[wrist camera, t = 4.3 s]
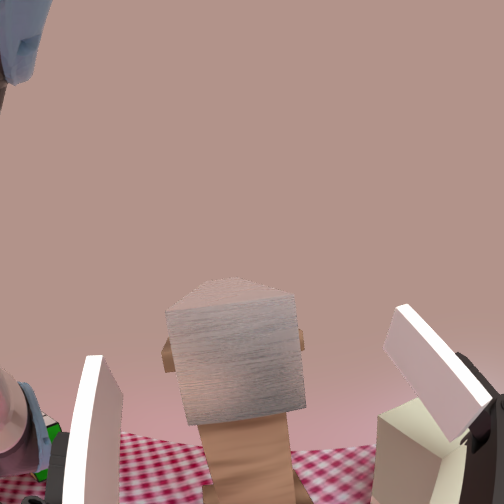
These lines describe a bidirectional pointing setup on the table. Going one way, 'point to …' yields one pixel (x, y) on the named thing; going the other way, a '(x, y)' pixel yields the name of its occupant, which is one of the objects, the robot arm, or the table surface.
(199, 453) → the table surface
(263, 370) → the steel bar
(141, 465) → the table surface
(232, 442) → the walnut stand
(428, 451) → the tower upper
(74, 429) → the robot arm
